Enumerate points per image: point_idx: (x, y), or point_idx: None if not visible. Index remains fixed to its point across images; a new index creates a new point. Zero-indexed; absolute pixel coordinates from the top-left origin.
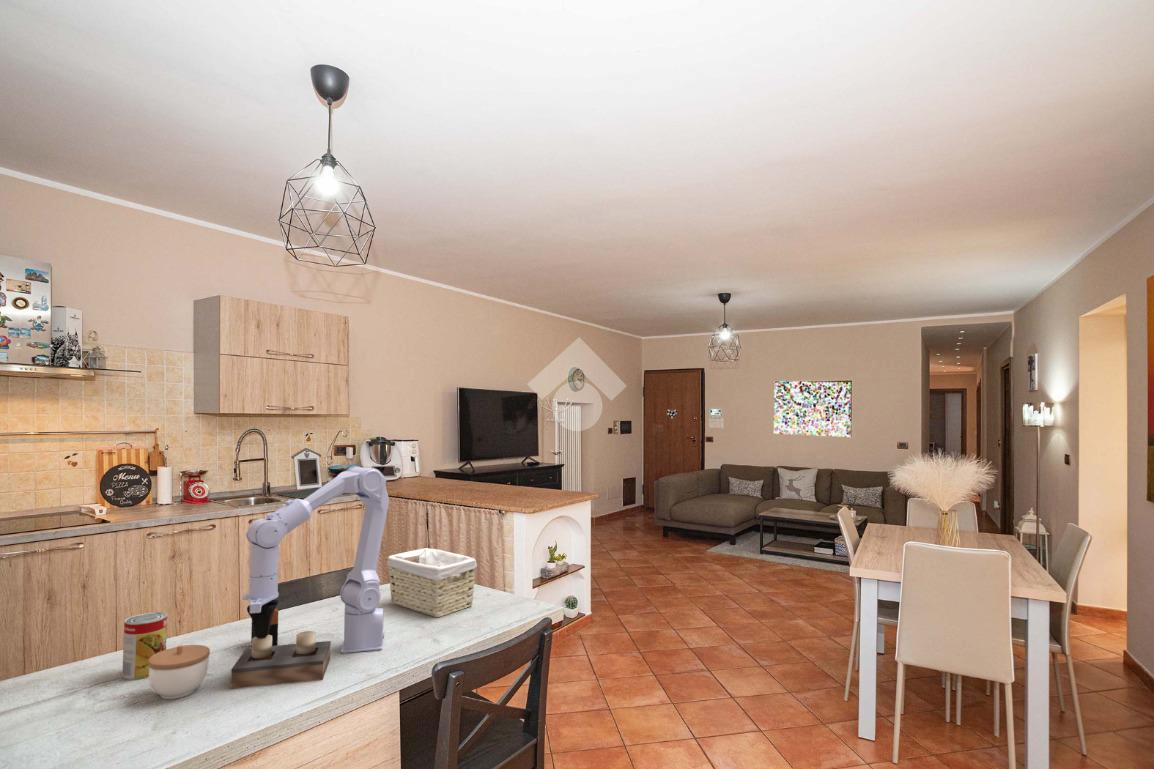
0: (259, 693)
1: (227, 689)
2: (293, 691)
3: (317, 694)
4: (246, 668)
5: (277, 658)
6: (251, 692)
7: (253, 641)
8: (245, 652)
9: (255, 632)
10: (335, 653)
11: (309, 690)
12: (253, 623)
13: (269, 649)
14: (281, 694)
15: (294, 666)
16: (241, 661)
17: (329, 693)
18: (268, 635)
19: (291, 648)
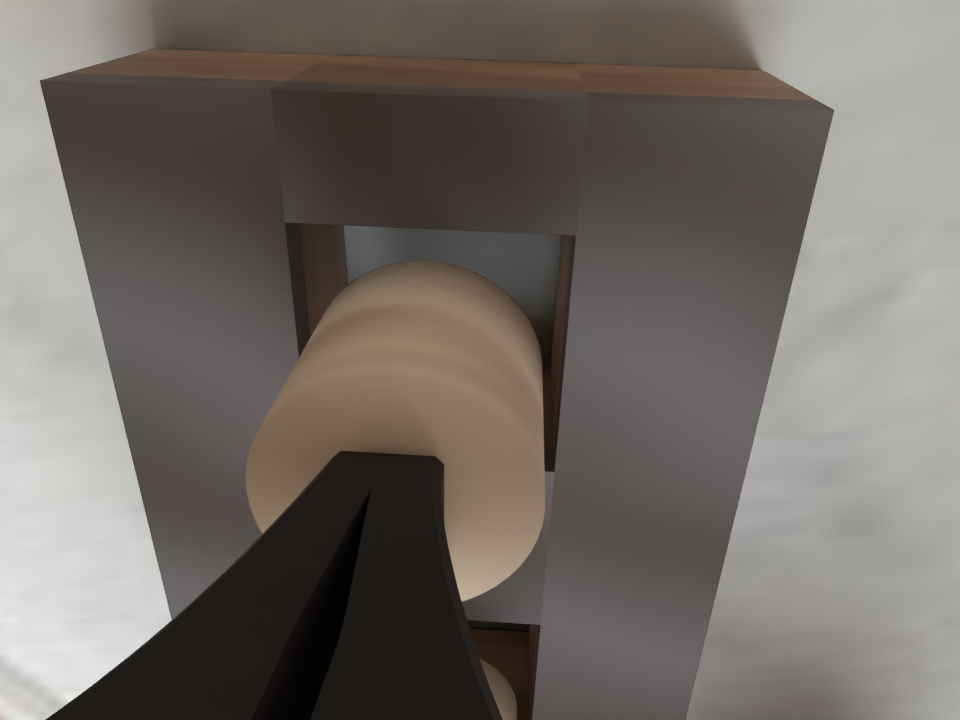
0: (50, 322)
1: (145, 16)
2: (81, 528)
3: (34, 643)
4: (89, 254)
5: None
6: (70, 258)
7: (288, 396)
8: (642, 135)
9: (297, 500)
10: (730, 709)
11: (94, 605)
12: (156, 635)
13: None
14: (33, 466)
15: None
16: (299, 153)
17: (49, 690)
18: (482, 564)
19: (583, 590)
